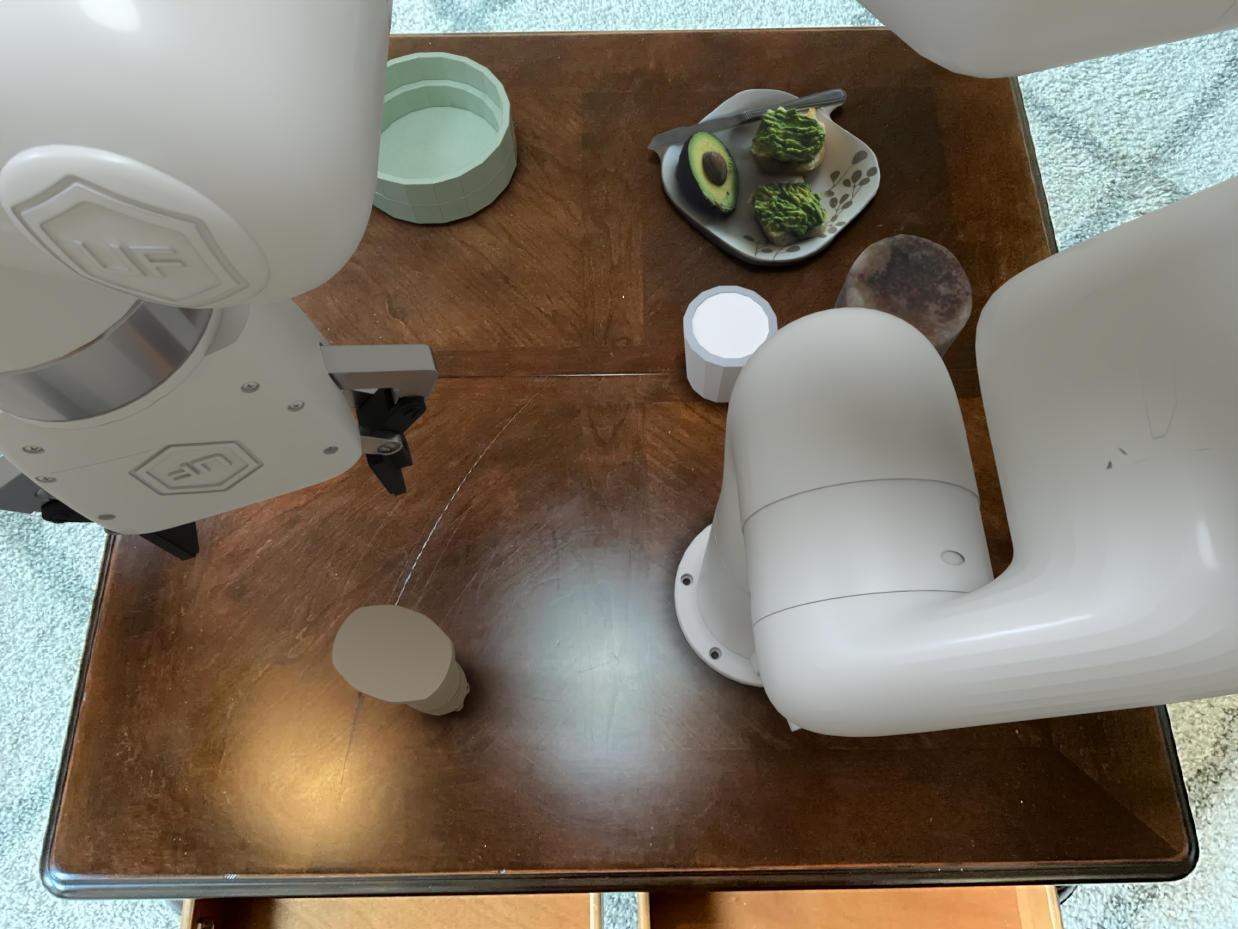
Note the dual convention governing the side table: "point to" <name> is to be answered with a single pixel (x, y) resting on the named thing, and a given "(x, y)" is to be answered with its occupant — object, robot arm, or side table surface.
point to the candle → (911, 287)
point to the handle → (400, 659)
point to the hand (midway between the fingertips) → (292, 497)
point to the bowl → (442, 138)
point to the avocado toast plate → (768, 175)
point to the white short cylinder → (723, 337)
